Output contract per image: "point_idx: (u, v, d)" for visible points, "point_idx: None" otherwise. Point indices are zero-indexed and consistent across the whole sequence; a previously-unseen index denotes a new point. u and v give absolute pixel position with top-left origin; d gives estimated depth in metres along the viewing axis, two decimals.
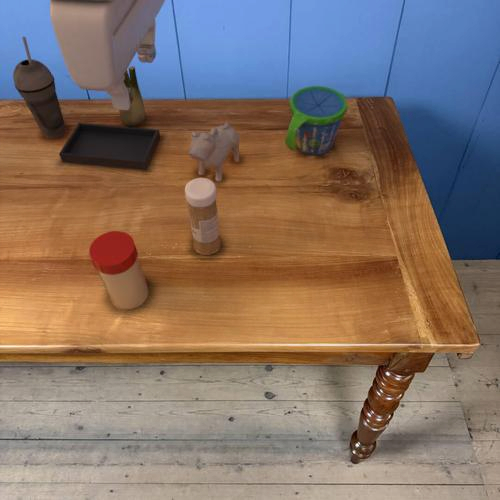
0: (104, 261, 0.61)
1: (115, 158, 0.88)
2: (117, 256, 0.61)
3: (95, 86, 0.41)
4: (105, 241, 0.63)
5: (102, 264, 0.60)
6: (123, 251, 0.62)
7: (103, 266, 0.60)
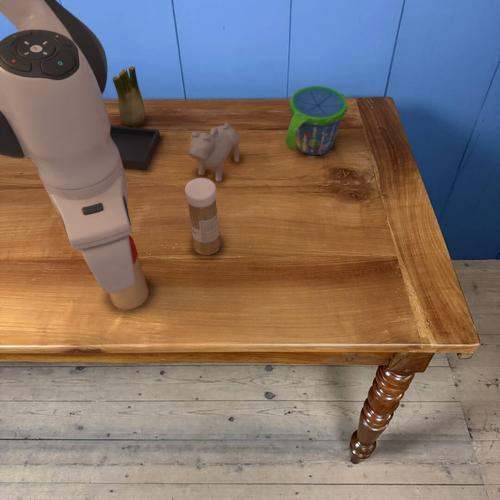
0: None
1: None
2: None
3: (123, 288, 0.53)
4: None
5: None
6: None
7: None
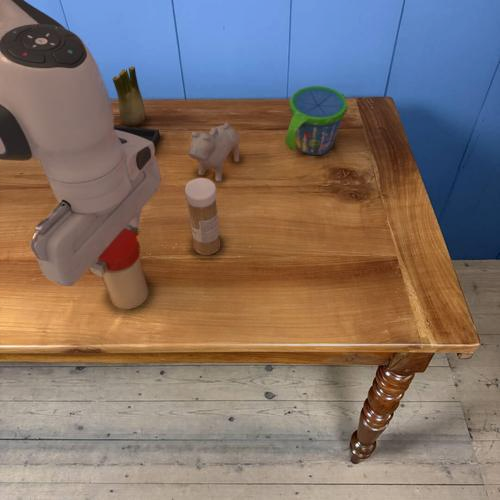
0: (131, 237, 0.63)
1: None
2: (120, 234, 0.63)
3: None
4: (111, 252, 0.61)
5: (135, 236, 0.63)
6: None
7: None
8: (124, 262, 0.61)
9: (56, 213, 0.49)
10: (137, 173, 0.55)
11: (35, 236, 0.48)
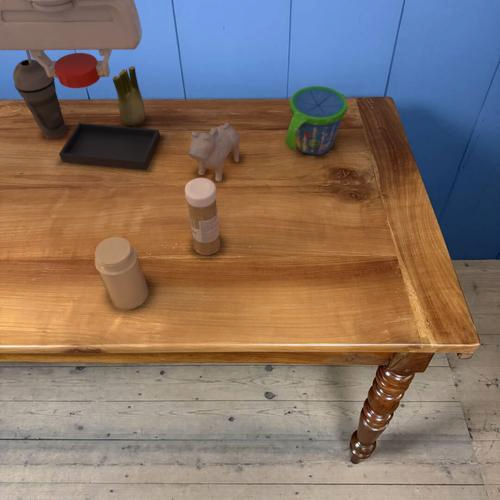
0: (87, 69, 0.66)
1: (115, 158, 0.88)
2: (88, 62, 0.67)
3: None
4: (65, 65, 0.66)
5: (90, 70, 0.66)
6: (86, 58, 0.67)
7: (91, 71, 0.66)
8: (62, 78, 0.66)
9: None
10: None
11: None
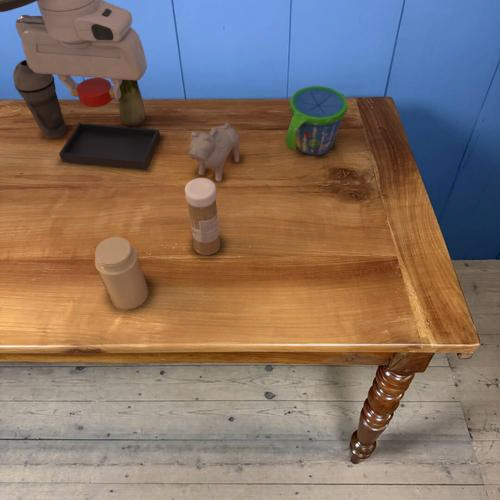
0: (101, 92, 0.80)
1: (115, 158, 0.88)
2: (104, 86, 0.81)
3: (145, 70, 0.78)
4: (84, 88, 0.81)
5: (103, 93, 0.80)
6: (103, 83, 0.82)
7: (104, 94, 0.80)
8: (81, 98, 0.81)
9: (35, 17, 0.73)
10: (91, 38, 0.71)
11: (18, 19, 0.73)
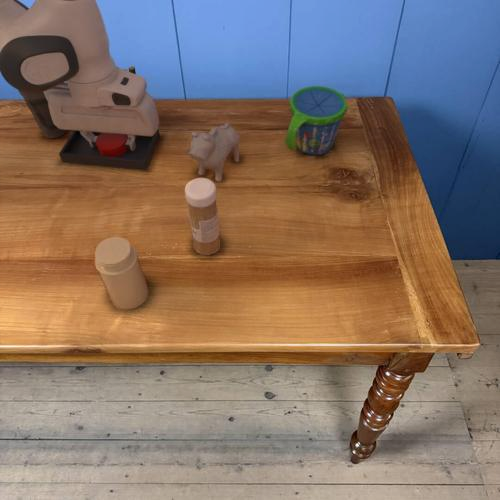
0: (118, 144, 0.89)
1: (115, 158, 0.88)
2: (120, 139, 0.90)
3: None
4: (103, 140, 0.90)
5: (120, 145, 0.89)
6: (119, 135, 0.91)
7: (121, 146, 0.89)
8: (100, 150, 0.90)
9: (61, 84, 0.82)
10: (111, 104, 0.80)
11: None
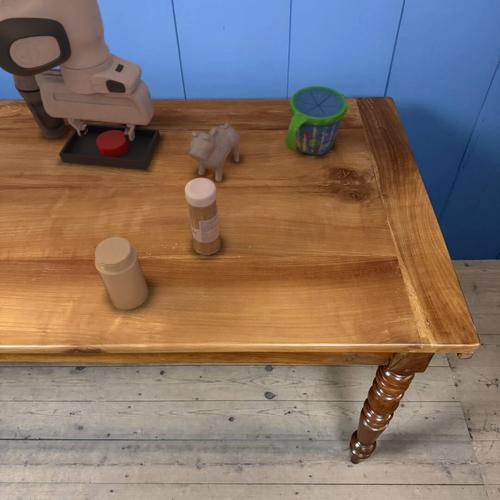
0: (118, 144, 0.89)
1: (115, 158, 0.88)
2: (120, 138, 0.90)
3: (152, 116, 0.86)
4: (103, 140, 0.90)
5: (120, 145, 0.89)
6: (119, 135, 0.91)
7: (121, 146, 0.89)
8: (100, 150, 0.90)
9: (53, 70, 0.80)
10: (105, 91, 0.78)
11: None
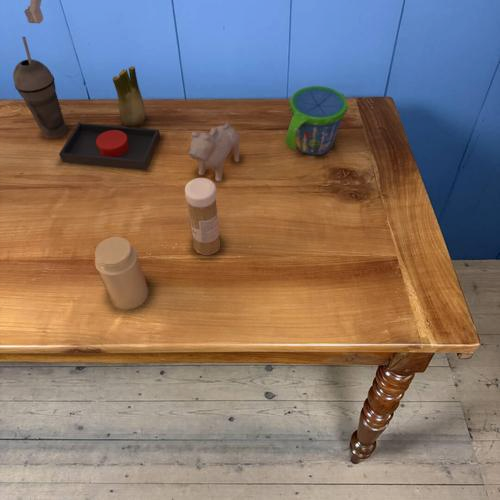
0: (118, 144, 0.89)
1: (115, 158, 0.88)
2: (120, 139, 0.90)
3: None
4: (103, 140, 0.90)
5: (120, 145, 0.89)
6: (119, 135, 0.91)
7: (121, 146, 0.89)
8: (100, 150, 0.90)
9: None
10: None
11: None
